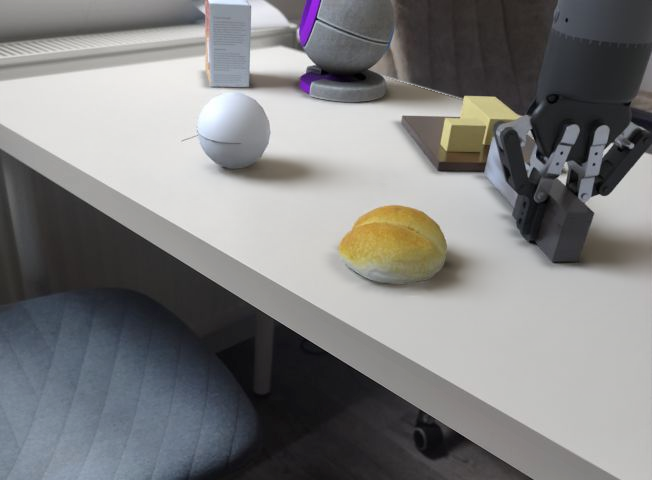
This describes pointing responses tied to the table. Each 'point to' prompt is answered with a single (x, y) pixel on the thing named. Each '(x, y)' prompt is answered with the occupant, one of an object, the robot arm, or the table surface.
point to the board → (429, 140)
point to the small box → (227, 42)
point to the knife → (548, 213)
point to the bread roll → (394, 245)
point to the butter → (486, 113)
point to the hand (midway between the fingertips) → (543, 236)
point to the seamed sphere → (233, 130)
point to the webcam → (345, 48)
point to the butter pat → (462, 135)
